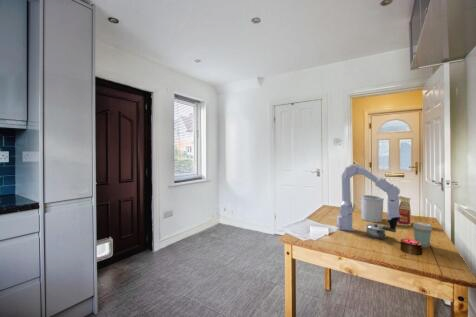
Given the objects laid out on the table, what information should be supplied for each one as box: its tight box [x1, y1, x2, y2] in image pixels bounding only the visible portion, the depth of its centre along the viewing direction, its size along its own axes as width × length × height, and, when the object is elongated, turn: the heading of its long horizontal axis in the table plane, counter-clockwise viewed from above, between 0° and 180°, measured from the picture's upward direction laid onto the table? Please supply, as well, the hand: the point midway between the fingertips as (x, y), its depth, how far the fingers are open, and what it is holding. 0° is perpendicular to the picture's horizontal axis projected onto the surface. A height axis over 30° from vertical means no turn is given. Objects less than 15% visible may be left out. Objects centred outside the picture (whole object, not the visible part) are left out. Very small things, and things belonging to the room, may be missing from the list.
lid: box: [365, 223, 397, 233], centre depth 141 cm, size 16×11×2 cm
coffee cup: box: [412, 221, 433, 249], centre depth 128 cm, size 8×8×12 cm
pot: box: [366, 227, 386, 240], centre depth 142 cm, size 17×10×5 cm, turn 170°
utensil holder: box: [360, 194, 385, 223], centre depth 175 cm, size 15×15×18 cm
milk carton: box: [396, 195, 412, 227], centre depth 166 cm, size 9×9×20 cm
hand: (392, 229), depth 138 cm, fingers closed
